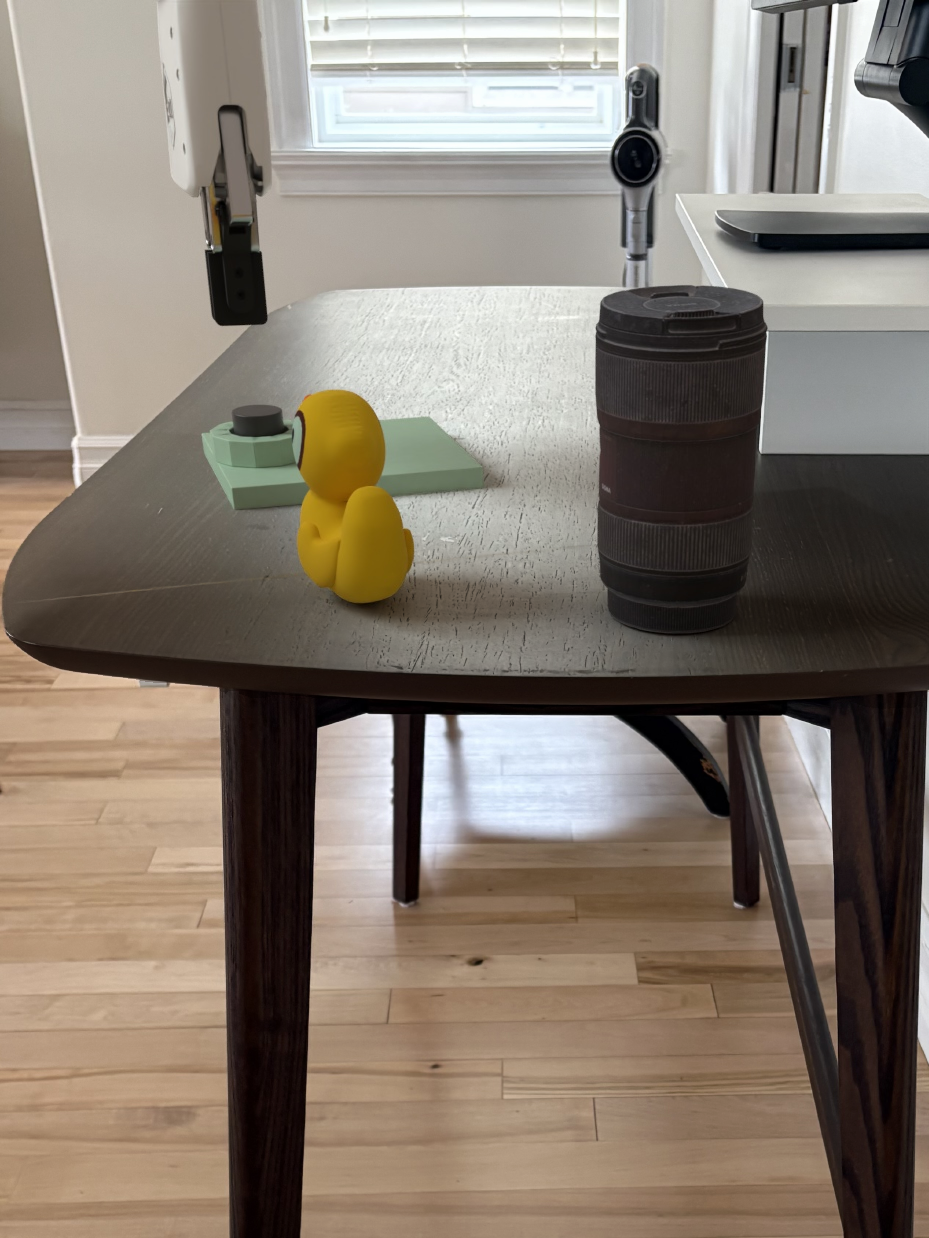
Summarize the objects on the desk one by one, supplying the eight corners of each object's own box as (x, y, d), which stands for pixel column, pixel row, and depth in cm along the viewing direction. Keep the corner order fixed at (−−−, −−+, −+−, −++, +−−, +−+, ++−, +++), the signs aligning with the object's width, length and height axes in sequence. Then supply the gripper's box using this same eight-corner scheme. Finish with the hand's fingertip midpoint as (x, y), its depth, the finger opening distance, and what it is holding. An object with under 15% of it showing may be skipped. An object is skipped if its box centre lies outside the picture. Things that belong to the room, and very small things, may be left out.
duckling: (277, 567, 85) (255, 376, 79) (369, 555, 86) (354, 367, 81) (337, 634, 76) (317, 425, 70) (437, 619, 78) (426, 414, 72)
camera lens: (572, 596, 81) (572, 287, 72) (711, 580, 83) (727, 279, 75) (624, 648, 75) (631, 318, 66) (773, 630, 77) (799, 308, 68)
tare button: (238, 443, 96) (235, 418, 95) (231, 431, 99) (228, 406, 98) (288, 440, 97) (286, 414, 96) (280, 428, 99) (277, 403, 99)
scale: (233, 511, 93) (227, 460, 91) (203, 454, 104) (197, 408, 102) (484, 489, 97) (482, 440, 96) (430, 437, 108) (428, 392, 106)
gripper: (121, -42, 88) (165, 305, 98) (148, -46, 76) (193, 348, 87) (251, -38, 90) (280, 302, 100) (296, -41, 78) (323, 343, 89)
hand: (240, 322), depth 94 cm, fingers closed
